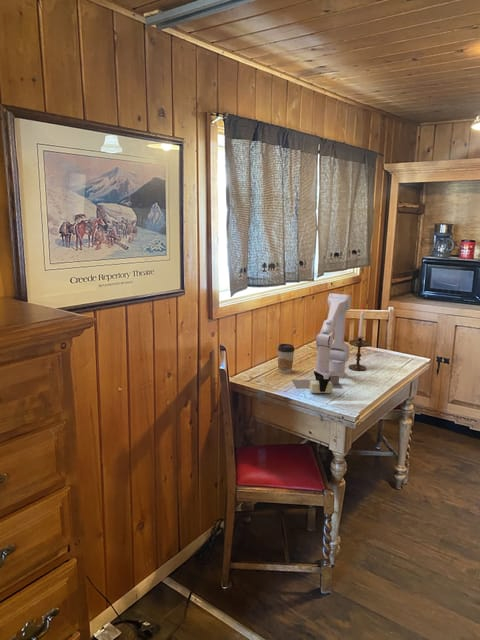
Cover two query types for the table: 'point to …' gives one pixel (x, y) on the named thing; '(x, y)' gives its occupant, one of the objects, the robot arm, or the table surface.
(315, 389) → the cream rectangular block
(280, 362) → the coffee cup
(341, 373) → the bar
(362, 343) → the candlestick
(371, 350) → the table surface
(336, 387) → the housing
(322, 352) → the robot arm
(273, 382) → the table surface
